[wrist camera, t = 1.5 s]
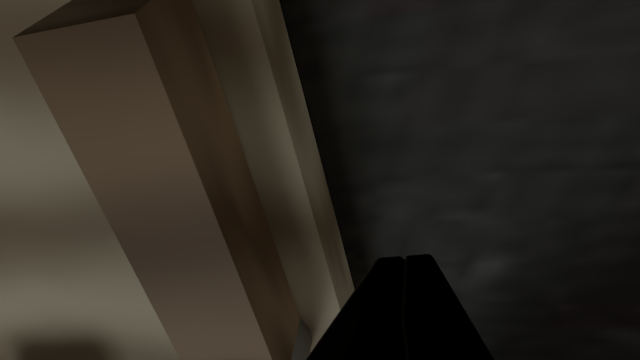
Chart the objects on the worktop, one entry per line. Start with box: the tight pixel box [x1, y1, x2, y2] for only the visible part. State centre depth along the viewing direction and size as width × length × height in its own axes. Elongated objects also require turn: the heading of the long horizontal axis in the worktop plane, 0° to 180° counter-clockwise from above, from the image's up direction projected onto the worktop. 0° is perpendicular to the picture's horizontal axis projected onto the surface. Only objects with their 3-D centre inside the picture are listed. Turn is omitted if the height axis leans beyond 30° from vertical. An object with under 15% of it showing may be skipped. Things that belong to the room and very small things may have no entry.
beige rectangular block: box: [0, 0, 355, 360], centre depth 20 cm, size 19×16×6 cm
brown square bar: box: [12, 0, 312, 360], centre depth 17 cm, size 15×3×4 cm, turn 13°
